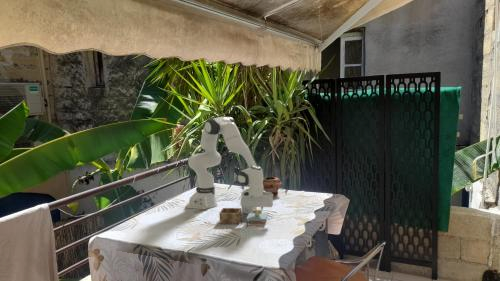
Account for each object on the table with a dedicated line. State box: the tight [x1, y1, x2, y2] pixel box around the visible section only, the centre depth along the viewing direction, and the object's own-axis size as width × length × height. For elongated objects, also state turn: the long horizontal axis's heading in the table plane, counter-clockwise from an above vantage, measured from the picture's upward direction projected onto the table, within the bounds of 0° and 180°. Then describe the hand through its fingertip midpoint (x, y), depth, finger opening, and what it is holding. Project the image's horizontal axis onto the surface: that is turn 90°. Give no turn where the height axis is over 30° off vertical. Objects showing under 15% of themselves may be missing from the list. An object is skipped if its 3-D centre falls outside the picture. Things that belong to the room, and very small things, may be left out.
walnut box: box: [218, 207, 243, 225], centre depth 222 cm, size 12×10×7 cm
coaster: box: [247, 218, 268, 226], centre depth 220 cm, size 11×11×1 cm
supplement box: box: [240, 188, 258, 215], centre depth 239 cm, size 9×9×15 cm
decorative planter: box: [263, 176, 283, 197], centre depth 276 cm, size 20×12×14 cm, turn 94°
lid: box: [246, 208, 268, 222], centre depth 220 cm, size 12×10×6 cm
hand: (257, 213), depth 220 cm, fingers closed on lid, 3 cm apart
